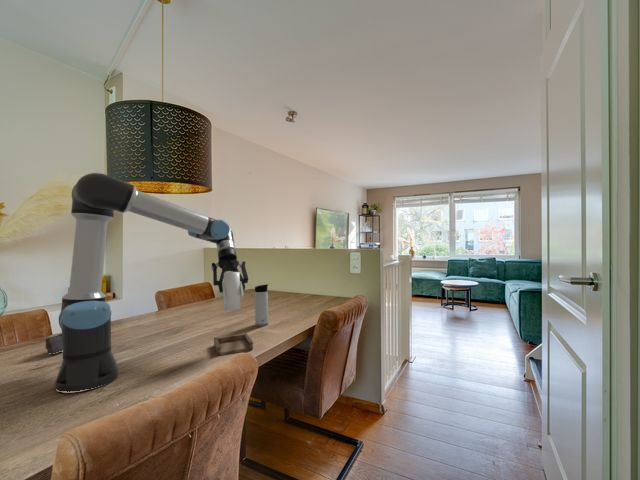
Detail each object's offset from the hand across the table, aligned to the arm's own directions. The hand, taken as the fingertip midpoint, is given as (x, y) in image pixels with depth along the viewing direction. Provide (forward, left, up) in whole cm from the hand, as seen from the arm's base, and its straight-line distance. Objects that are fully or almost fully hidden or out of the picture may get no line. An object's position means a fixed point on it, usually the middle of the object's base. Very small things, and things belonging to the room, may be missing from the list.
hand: (233, 297), depth 114 cm
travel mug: (+18, +30, -20) cm, 40 cm away
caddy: (0, +4, -20) cm, 21 cm away
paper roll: (0, +4, -5) cm, 6 cm away
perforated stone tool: (-60, +32, -21) cm, 71 cm away
